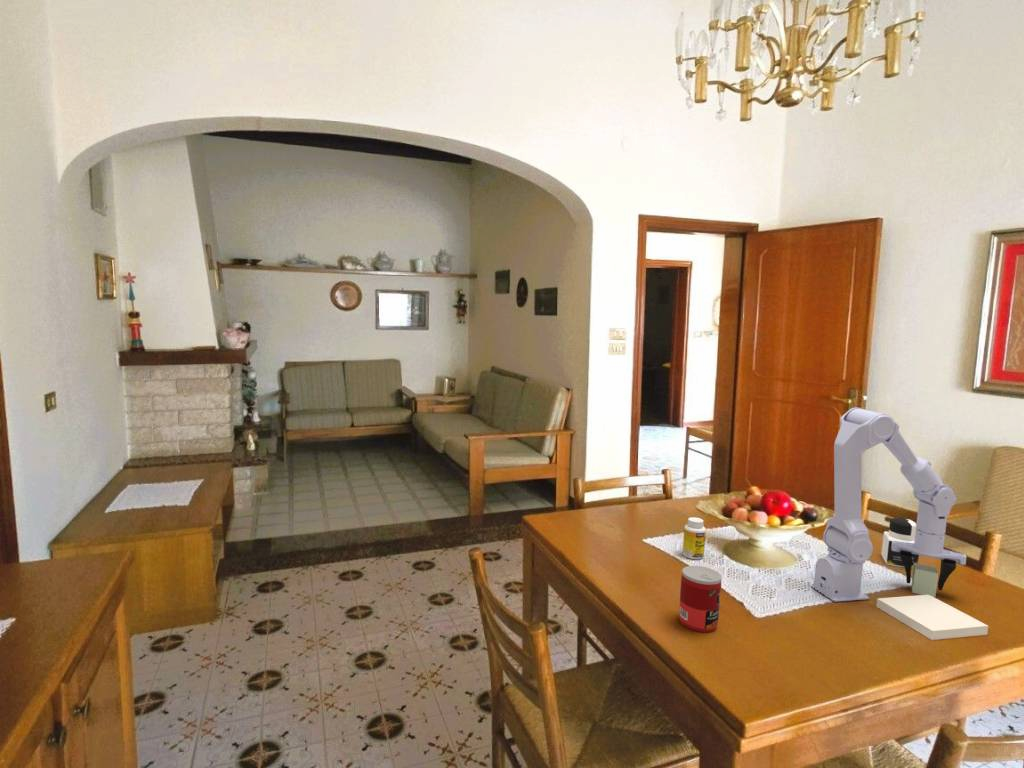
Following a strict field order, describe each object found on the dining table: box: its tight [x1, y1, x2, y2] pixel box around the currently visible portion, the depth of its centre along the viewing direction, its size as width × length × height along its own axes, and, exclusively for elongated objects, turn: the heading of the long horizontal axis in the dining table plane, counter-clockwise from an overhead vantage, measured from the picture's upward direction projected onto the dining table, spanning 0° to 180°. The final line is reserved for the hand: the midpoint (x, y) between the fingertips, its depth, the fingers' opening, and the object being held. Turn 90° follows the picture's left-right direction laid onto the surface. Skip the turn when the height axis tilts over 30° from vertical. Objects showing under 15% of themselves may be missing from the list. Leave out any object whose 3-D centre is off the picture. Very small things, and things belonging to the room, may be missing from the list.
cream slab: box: [875, 594, 989, 641], centre depth 128 cm, size 14×14×2 cm
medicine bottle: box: [881, 517, 920, 570], centre depth 159 cm, size 7×7×12 cm
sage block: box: [910, 562, 939, 598], centre depth 142 cm, size 4×4×6 cm
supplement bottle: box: [682, 517, 707, 560], centre depth 159 cm, size 6×6×10 cm
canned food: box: [678, 565, 722, 633], centre depth 123 cm, size 8×8×11 cm
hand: (923, 585), depth 142 cm, fingers open, 6 cm apart
